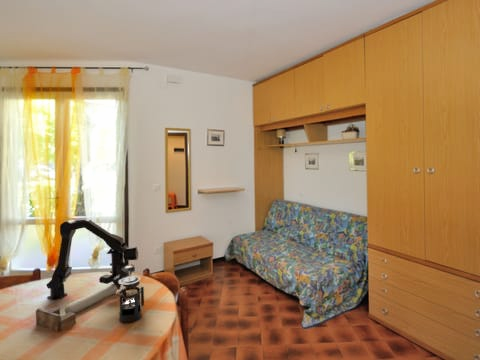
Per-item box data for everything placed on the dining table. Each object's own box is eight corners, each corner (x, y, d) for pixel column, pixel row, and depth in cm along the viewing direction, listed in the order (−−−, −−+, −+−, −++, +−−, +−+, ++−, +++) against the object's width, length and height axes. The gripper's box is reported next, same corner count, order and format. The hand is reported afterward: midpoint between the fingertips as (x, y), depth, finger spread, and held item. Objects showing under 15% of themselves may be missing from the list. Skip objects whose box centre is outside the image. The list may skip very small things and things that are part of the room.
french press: (125, 327, 110) (124, 272, 109) (113, 320, 116) (111, 267, 115) (149, 314, 120) (148, 263, 119) (136, 308, 125) (135, 260, 124)
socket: (36, 324, 113) (35, 309, 112) (54, 315, 119) (54, 301, 119) (57, 332, 107) (57, 316, 107) (75, 322, 114) (75, 307, 114)
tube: (70, 309, 117) (118, 286, 140) (63, 303, 119) (111, 281, 142) (68, 319, 118) (116, 295, 141) (61, 313, 120) (109, 290, 143)
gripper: (114, 269, 131) (115, 300, 131) (141, 257, 148) (142, 284, 149) (98, 266, 135) (99, 296, 136) (126, 254, 152) (127, 281, 153)
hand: (118, 289), depth 143 cm, fingers closed
